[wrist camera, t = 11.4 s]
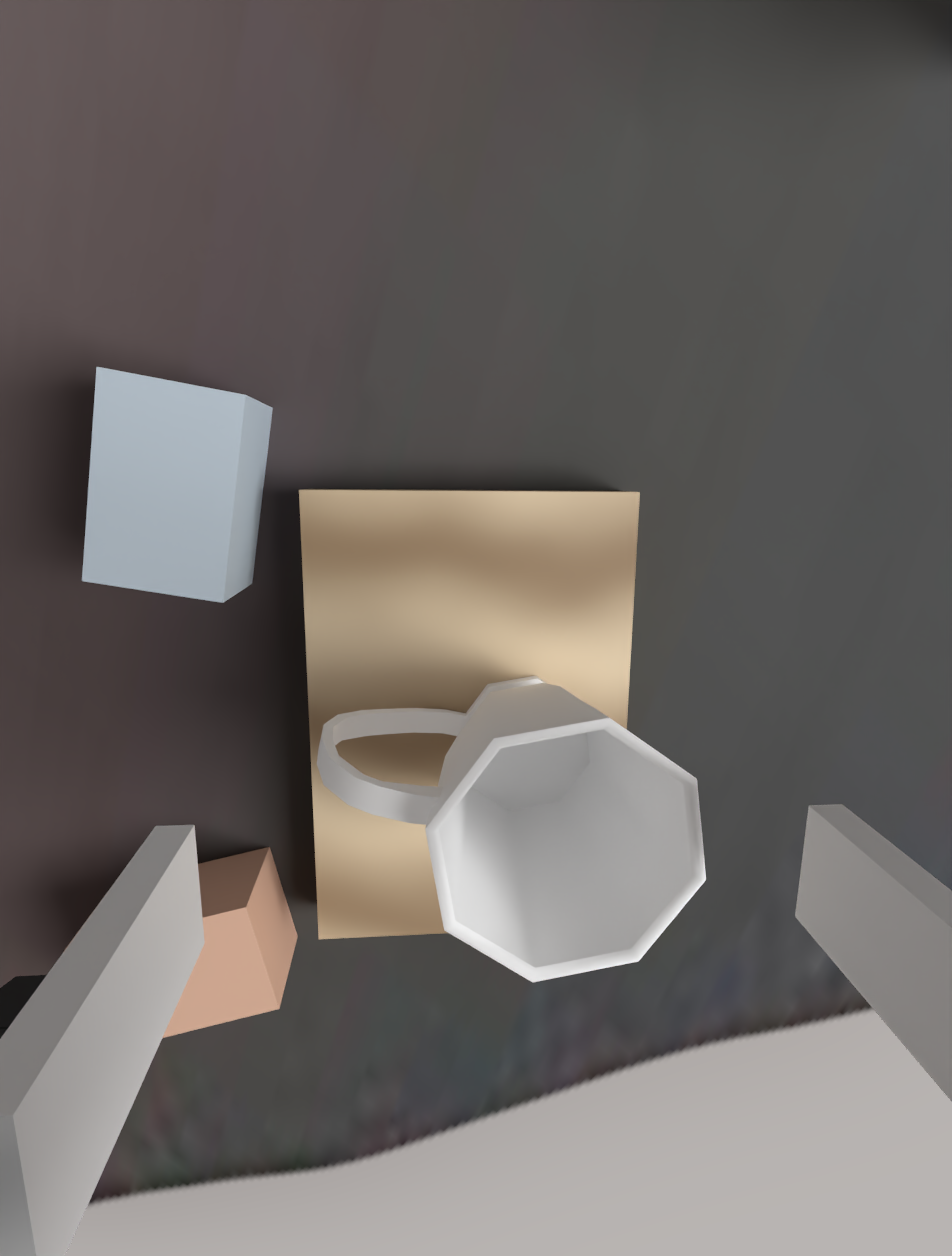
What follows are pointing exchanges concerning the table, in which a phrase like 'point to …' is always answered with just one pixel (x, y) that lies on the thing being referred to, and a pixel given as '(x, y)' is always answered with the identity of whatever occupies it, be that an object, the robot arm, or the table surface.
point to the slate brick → (174, 486)
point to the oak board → (445, 651)
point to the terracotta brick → (237, 943)
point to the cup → (539, 826)
